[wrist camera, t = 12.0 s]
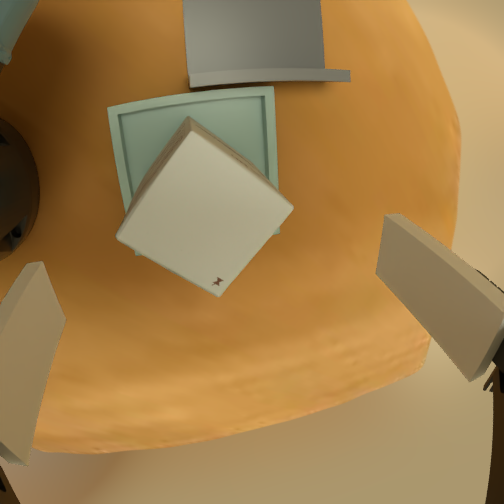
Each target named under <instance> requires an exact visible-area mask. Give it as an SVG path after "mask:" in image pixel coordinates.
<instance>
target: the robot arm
mask: <svg viewBox="0 0 504 504" xmlns="http://www.w3.org/2000/svg"><path fill="white" fill-rule="evenodd" d="M38 2H39V0H0V73H1V71H2V69H3V67H4V65H5V64H6V65H8V64H9V62H10V61H11V59H12V54H11V52H12V50H13V48H14V46H15V44H16V42H17V40H18V38H19V36H20V34H21V32H22V30H23V28H24V27H25V25H26V23H27V21H28V19H29V18H30V16H31V14H32V13H33V11H34V9H35V8H36V6H37V4H38ZM38 205H39V180H38V174H37V169H36V165H35V162H34V159H33V157H32V154H31V152H30V150H29V148H28V146H27V144H26V142H25V141H24V139H23V138H22V137H21V135H20V134H19V133H18V132H17V131H16V130H15V129H14V128H13V127H12V126H11V125H10V124H8V123H7V122H5V121H3V120H1V119H0V261H1V260H3V259H5V258H6V257H8V256H9V255H10V254H12V253H13V252H14V251H15V250H16V249H17V248H18V247H19V245H20V244H21V243H22V242H23V241H24V239H25V238H26V237H27V235H28V234H29V232H30V231H31V229H32V227H33V224H34V222H35V219H36V215H37V211H38ZM376 275H377V276H378V277H379V278H380V279H381V280H382V281H383V282H384V283H385V284H386V285H387V286H388V288H389V289H390V290H391V291H392V292H393V293H394V294H395V295H396V296H397V297H398V299H399V300H400V301H401V302H402V303H403V304H404V305H405V306H406V307H407V309H408V310H409V311H410V312H411V313H412V314H413V315H414V316H415V318H416V319H417V320H418V321H419V322H420V323H421V325H422V326H423V327H424V328H425V329H426V330H427V331H428V333H429V334H430V335H431V336H432V337H433V338H434V340H435V341H436V342H437V343H438V344H439V345H440V347H441V348H442V349H443V350H444V352H445V353H446V354H447V355H448V356H449V358H450V359H451V360H452V361H453V363H454V364H455V365H456V366H457V368H458V369H459V370H460V371H461V372H462V374H463V375H464V376H465V378H466V379H467V380H468V381H469V382H471V381H473V380H474V379H476V378H478V377H480V376H481V375H483V374H484V373H485V372H486V370H487V368H488V367H489V365H490V363H491V361H493V362H494V363H495V365H496V367H495V369H494V371H493V372H492V374H491V375H490V377H489V378H488V380H487V382H486V383H485V385H484V388H483V390H484V391H485V390H486V389H487V388H488V386H489V385H490V383H492V382H493V386H492V387H491V389H490V391H491V392H493V441H492V455H491V467H490V475H489V483H488V490H487V497H486V503H485V504H504V292H503V291H502V290H501V289H500V288H499V287H498V288H497V287H496V285H495V284H494V283H493V282H492V281H489V279H488V278H487V277H486V276H485V275H483V274H482V273H481V272H480V271H478V270H476V269H474V268H473V267H471V266H470V265H469V264H467V263H466V262H465V261H464V260H462V259H461V258H460V257H459V256H457V255H456V254H455V253H453V252H452V251H451V250H450V249H448V248H447V247H446V246H444V245H443V244H442V243H440V242H439V241H438V240H436V239H435V238H434V237H432V236H431V235H430V234H428V233H427V232H425V231H424V230H423V229H421V228H420V227H418V226H417V225H416V224H414V223H413V222H411V221H410V220H409V219H407V218H406V217H404V216H403V215H401V214H400V213H397V214H388V215H385V216H384V223H383V231H382V237H381V244H380V250H379V256H378V262H377V268H376ZM65 322H66V318H65V315H64V313H63V311H62V309H61V306H60V304H59V302H58V299H57V297H56V294H55V292H54V289H53V287H52V284H51V282H50V279H49V277H48V274H47V271H46V269H45V266H44V263H43V261H39V262H33V263H27V264H26V265H25V267H24V268H23V270H22V271H21V273H20V274H19V276H18V277H17V279H16V280H15V282H14V283H13V285H12V286H11V288H10V289H9V291H8V293H7V294H6V296H5V297H4V299H3V301H2V302H1V304H0V456H1V457H3V458H4V459H5V460H6V461H7V462H9V463H12V464H18V465H23V466H28V465H29V458H30V452H31V447H32V442H33V437H34V432H35V427H36V423H37V418H38V414H39V410H40V406H41V402H42V398H43V394H44V390H45V386H46V383H47V379H48V375H49V372H50V369H51V365H52V362H53V359H54V355H55V352H56V349H57V346H58V343H59V340H60V337H61V334H62V331H63V328H64V325H65ZM0 504H20V502H19V500H18V498H17V497H16V495H15V493H14V491H13V489H12V487H11V485H10V484H9V481H8V479H7V477H6V475H5V473H4V471H3V469H2V468H1V466H0Z"/></svg>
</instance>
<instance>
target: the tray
mask: <svg viewBox="0 0 504 504" xmlns="http://www.w3.org/2000/svg"><path fill="white" fill-rule="evenodd" d="M107 110H108V118H109V125H110V132H111V138H112V144H113V150H114V156H115V162H116V168H117V173H118V178H119V183H120V188H121V193H122V198H123V203H124V208H125V212H127V210H128V208H129V205H130V203H131V201H132V199H133V196H134V194H135V192H136V190H137V188H138V186H139V184H140V182H141V180H142V179H143V177H144V176H145V174H146V173H147V171H148V170H149V168H150V167H151V165H152V164H153V162H154V161H155V159H156V158H157V156H158V155H159V153H160V152H161V151H162V149H163V148H164V146H165V145H166V144H167V142H168V141H169V140H170V138H171V137H172V136H173V134H174V133H175V132H176V130H177V129H178V128H179V126H180V125H181V124H182V122H183V121H184V120H185V118H186V117H187V116H190V117H191V118H193V119H194V120H195V121H197V122H198V123H199V124H201V125H202V126H204V127H205V128H206V129H208V130H209V131H211V132H212V133H213V134H215V135H216V136H217V137H219V138H220V139H221V140H223V141H224V142H225V143H227V144H228V145H230V146H231V147H232V148H233V149H235V150H236V151H237V152H239V153H240V154H241V155H243V156H244V157H245V158H247V159H248V160H250V161H251V162H252V163H253V164H254V165H255V166H256V167H257V168H258V169H259V170H260V171H261V172H262V173H263V174H264V175H265V176H266V178H267V179H268V180H269V181H270V182H271V183H272V184H273V185H274V186H275V187H276V188H277V189H278V163H277V140H276V119H275V100H274V86H261V87H244V88H231V89H219V90H209V91H200V92H192V93H184V94H177V95H170V96H164V97H158V98H152V99H146V100H141V101H136V102H130V103H125V104H121V105H116V106H112V107H107ZM278 190H279V189H278ZM275 234H280V226H279V227H278V229H277V230H276V231H275V232H274V233H273V234H272V235H275ZM135 254H136V256H139V255H142V254H140V253H138V252H137V251H135Z"/></svg>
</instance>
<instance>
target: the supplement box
mask: <svg viewBox="0 0 504 504" xmlns="http://www.w3.org/2000/svg"><path fill="white" fill-rule="evenodd" d="M293 209H294V206H293V205H292V204H291V203H290V202H289V201H288V200H287V199H286V198H285V197H284V196H283V195H282V194H281V193H280V191H279V190H278V189H277V188H276V187H275V186H274V185H273V184H272V183H271V182H270V181H269V180H268V179H267V178H266V176H265V175H264V174H263V173H262V172H261V171H260V170H259V169H258V168H257V167H256V166H255V165H254V164H253V163H252V162H251V161H250V160H248V159H247V158H245V157H244V156H243V155H241V154H240V153H239V152H237V151H236V150H235V149H233V148H232V147H231V146H230V145H228V144H227V143H225V142H224V141H223V140H221V139H220V138H219V137H217V136H216V135H215V134H213V133H212V132H211V131H209V130H208V129H206V128H205V127H204V126H202V125H201V124H199V123H198V122H197V121H195V120H194V119H193V118H191V117H190V116H187V117H186V118H185V120H184V121H183V122H182V124H181V125H180V126H179V128H178V129H177V130H176V132H175V133H174V134H173V136H172V137H171V138H170V140H169V141H168V142H167V144H166V145H165V146H164V148H163V149H162V151H161V152H160V153H159V155H158V156H157V158H156V159H155V161H154V162H153V164H152V165H151V167H150V168H149V170H148V171H147V173H146V174H145V176H144V177H143V179H142V180H141V182H140V184H139V186H138V188H137V190H136V192H135V194H134V196H133V199H132V201H131V203H130V205H129V208H128V210H127V212H126V214H125V217H124V219H123V221H122V223H121V225H120V227H119V229H118V231H117V233H116V235H115V237H116V239H117V240H118V241H120V242H121V243H123V244H125V245H126V246H128V247H130V248H131V249H133V250H135V251H137V252H138V253H140V254H142V255H144V256H145V257H147V258H149V259H150V260H152V261H154V262H156V263H157V264H159V265H161V266H163V267H164V268H166V269H168V270H169V271H171V272H172V273H174V274H176V275H178V276H180V277H182V278H184V279H186V280H187V281H189V282H191V283H193V284H195V285H197V286H198V287H200V288H202V289H204V290H206V291H207V292H209V293H211V294H213V295H214V296H216V297H220V296H221V295H222V294H223V292H224V291H225V290H226V289H227V287H228V286H229V285H230V284H231V283H232V281H233V280H234V279H235V278H236V277H237V276H238V274H239V273H240V272H241V271H242V270H243V268H244V267H245V266H246V265H247V264H248V263H249V262H250V260H251V259H252V258H253V257H254V256H255V254H256V253H257V252H258V251H259V250H260V249H261V247H262V246H263V245H264V244H265V243H266V242H267V240H268V239H269V238H270V237H271V236H272V234H273V233H274V232H275V231H276V230H277V229H278V227H279V226H280V225H281V224H282V223H283V222H284V220H285V219H286V218H287V217H288V215H289V214H290V213H291V212H292V210H293Z"/></svg>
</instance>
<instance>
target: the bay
mask: <svg viewBox="0 0 504 504" xmlns="http://www.w3.org/2000/svg"><path fill="white" fill-rule="evenodd" d="M183 14H184V29H185V44H186V57H187V69H188V81H189V88H198V87H206V86H216V85H227V84H241V83H258V82H291V81H309V82H350V70H337V69H325V62H324V44H323V30H322V17H321V5H320V0H183Z"/></svg>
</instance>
